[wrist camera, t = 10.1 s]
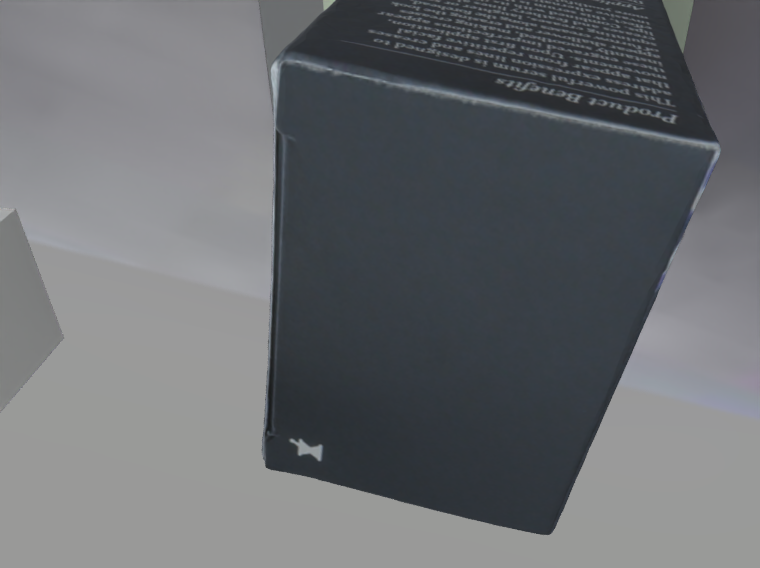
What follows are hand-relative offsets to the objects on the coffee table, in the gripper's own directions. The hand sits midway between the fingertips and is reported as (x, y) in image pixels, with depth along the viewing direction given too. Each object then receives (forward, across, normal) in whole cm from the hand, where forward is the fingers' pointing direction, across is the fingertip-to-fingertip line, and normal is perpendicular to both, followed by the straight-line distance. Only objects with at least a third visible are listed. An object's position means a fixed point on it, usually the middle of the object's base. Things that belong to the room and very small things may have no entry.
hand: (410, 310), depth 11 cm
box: (+10, +1, 0) cm, 10 cm away
